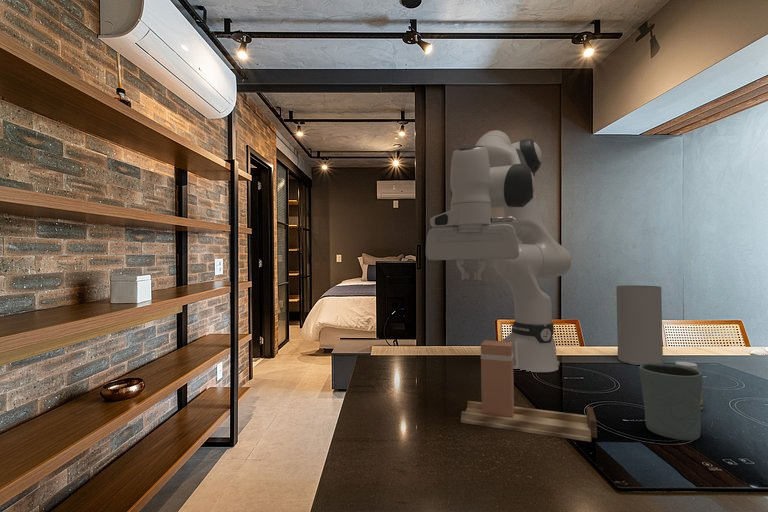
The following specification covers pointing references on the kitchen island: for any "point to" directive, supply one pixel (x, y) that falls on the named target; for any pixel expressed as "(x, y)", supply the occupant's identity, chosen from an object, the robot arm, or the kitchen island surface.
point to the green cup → (672, 400)
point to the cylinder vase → (639, 324)
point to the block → (497, 378)
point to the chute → (536, 422)
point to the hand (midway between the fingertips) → (471, 280)
